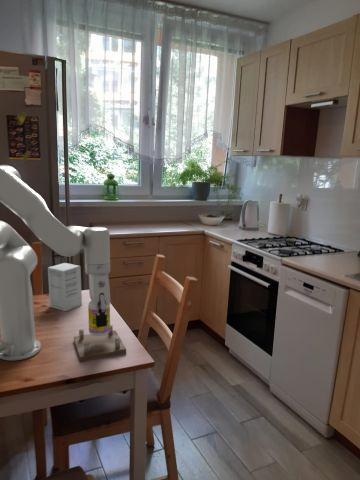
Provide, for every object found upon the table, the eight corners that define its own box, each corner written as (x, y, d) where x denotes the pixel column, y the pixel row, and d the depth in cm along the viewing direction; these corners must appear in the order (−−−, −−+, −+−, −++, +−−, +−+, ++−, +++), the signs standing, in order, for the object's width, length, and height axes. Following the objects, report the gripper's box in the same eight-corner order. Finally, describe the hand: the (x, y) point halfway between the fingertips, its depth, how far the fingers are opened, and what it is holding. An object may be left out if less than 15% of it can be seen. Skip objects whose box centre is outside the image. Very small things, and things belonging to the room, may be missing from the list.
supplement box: (82, 304, 153) (81, 265, 150) (65, 312, 146) (64, 271, 142) (66, 300, 158) (64, 262, 155) (48, 306, 150) (47, 267, 147)
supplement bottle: (89, 337, 114) (88, 298, 111) (88, 328, 120) (87, 291, 117) (111, 335, 116) (110, 296, 113) (109, 326, 122) (108, 289, 119)
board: (126, 353, 115) (126, 340, 114) (80, 361, 110) (80, 347, 109) (115, 334, 128) (115, 322, 127) (73, 341, 122) (73, 328, 121)
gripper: (116, 273, 107) (117, 331, 111) (103, 259, 123) (105, 310, 126) (90, 276, 104) (92, 335, 108) (80, 261, 120) (82, 313, 123)
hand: (99, 321), depth 117 cm, fingers closed on supplement bottle, 6 cm apart
